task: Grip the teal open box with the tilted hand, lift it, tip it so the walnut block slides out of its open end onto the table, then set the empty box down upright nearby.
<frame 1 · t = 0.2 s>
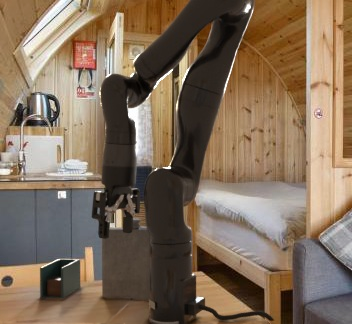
hand: (116, 235, 105), 18 cm above the table, tool pointing down, fingers open, 8 cm apart
teal open box: (61, 293, 120), on the table, touching walnut block
walnut block: (58, 293, 119), resting on teal open box
hip flask: (133, 298, 117), on the table
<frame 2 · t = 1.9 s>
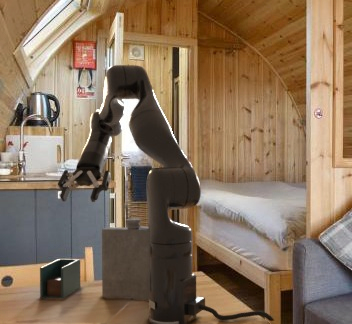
hand: (77, 200, 131), 23 cm above the table, tool tilted 45°, fingers open, 8 cm apart
nothing on the table moved.
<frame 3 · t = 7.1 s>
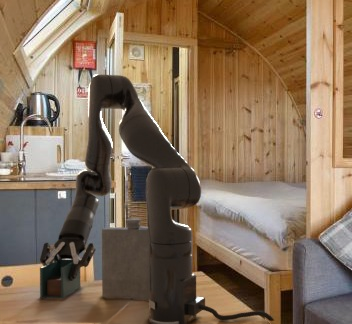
hand: (58, 279, 119), 4 cm above the table, tool tilted 45°, fingers closed on teal open box, 6 cm apart
teal open box: (61, 293, 120), on the table, touching gripper, walnut block
everything else where it was.
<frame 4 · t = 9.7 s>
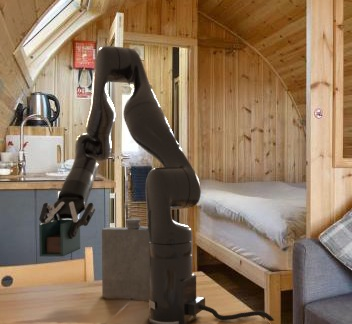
hand: (57, 236, 118), 15 cm above the table, tool tilted 45°, fingers closed on teal open box, 6 cm apart
teal open box: (60, 252, 120), point 11 cm above the table, touching gripper, walnut block
walnut block: (57, 251, 118), point 11 cm above the table, touching teal open box
everything else where it was.
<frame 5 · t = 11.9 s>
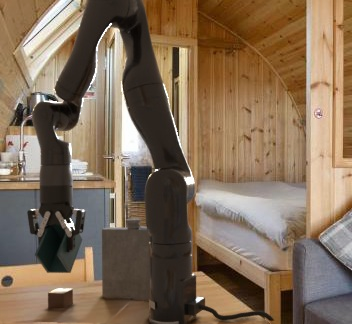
hand: (57, 251, 113), 12 cm above the table, tool pointing down, fingers closed on teal open box, 6 cm apart
teal open box: (65, 255, 118), point 11 cm above the table, tilted 45°, touching gripper
walnut block: (65, 296, 111), point 2 cm above the table, tilted 90°
everything else where it was.
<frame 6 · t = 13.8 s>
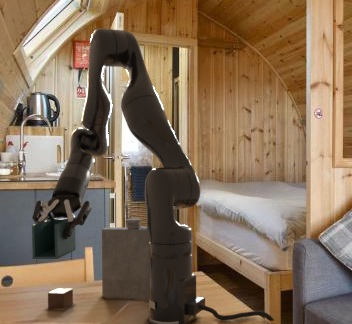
hand: (51, 237, 111), 16 cm above the table, tool tilted 45°, fingers closed on teal open box, 6 cm apart
teal open box: (55, 254, 113), point 12 cm above the table, touching gripper
everything else where it was.
when the fingers open (5 cm above the table, at t = 19.5 s): teal open box stays where it is, on the table.
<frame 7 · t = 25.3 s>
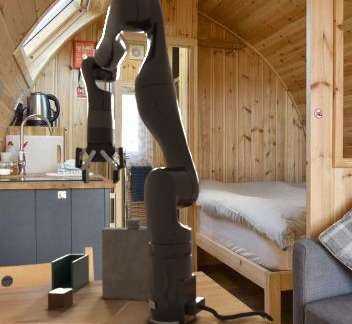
hand: (101, 183, 133), 28 cm above the table, tool pointing down, fingers open, 8 cm apart
teal open box: (71, 287, 127), on the table
everything else where it was.
at the end: walnut block touching table; teal open box tilted 0° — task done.
